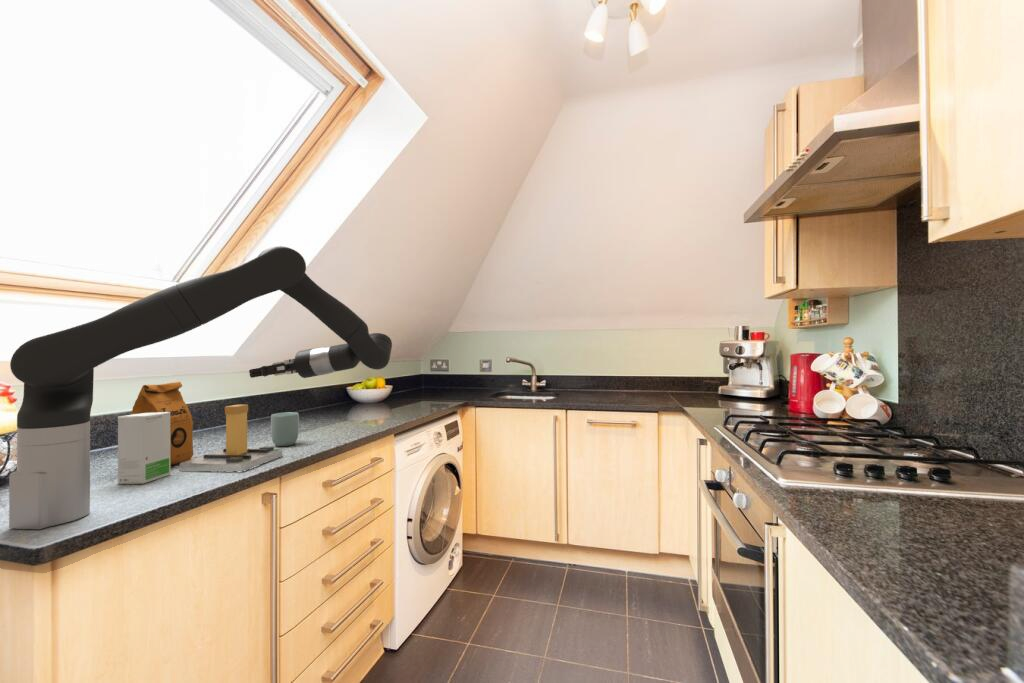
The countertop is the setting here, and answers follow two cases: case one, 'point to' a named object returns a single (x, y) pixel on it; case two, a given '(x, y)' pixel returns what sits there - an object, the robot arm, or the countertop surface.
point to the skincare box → (143, 447)
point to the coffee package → (180, 416)
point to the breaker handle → (236, 429)
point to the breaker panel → (231, 460)
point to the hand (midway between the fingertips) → (259, 372)
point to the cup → (284, 428)
